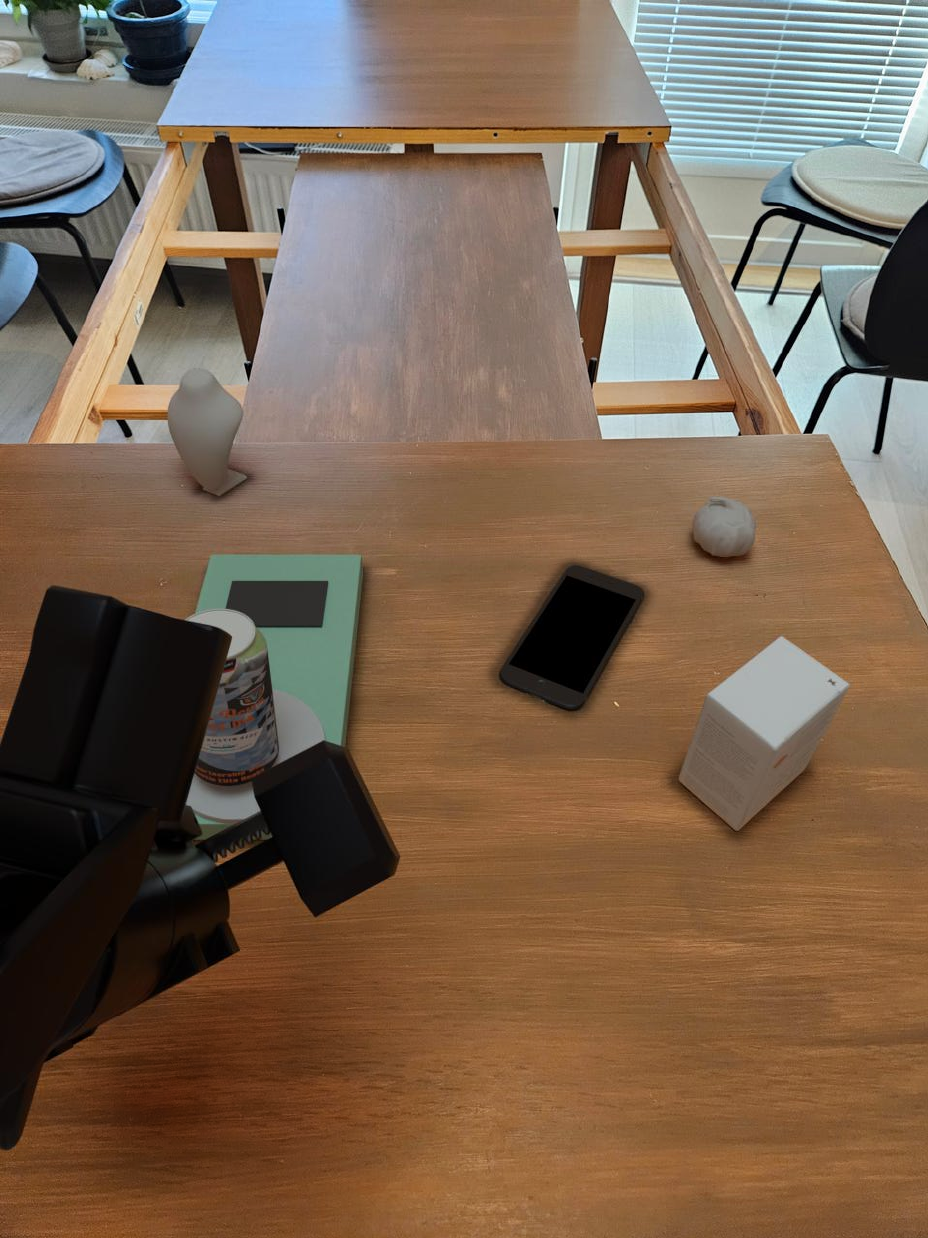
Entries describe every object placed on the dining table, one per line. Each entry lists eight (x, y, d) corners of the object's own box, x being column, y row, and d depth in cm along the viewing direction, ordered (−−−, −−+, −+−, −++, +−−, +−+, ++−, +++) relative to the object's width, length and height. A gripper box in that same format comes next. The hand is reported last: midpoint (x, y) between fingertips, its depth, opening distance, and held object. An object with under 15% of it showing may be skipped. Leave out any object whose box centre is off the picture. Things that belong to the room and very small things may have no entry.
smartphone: (492, 682, 71) (493, 675, 70) (569, 566, 80) (570, 559, 79) (578, 719, 68) (579, 712, 68) (647, 595, 77) (649, 588, 77)
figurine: (172, 487, 86) (138, 379, 77) (207, 458, 89) (179, 350, 80) (233, 512, 84) (206, 404, 75) (268, 480, 87) (246, 373, 78)
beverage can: (181, 793, 60) (133, 683, 51) (213, 706, 65) (175, 592, 56) (272, 802, 60) (240, 693, 51) (298, 714, 65) (272, 600, 56)
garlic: (673, 538, 82) (683, 494, 78) (716, 517, 84) (728, 473, 80) (719, 577, 78) (733, 533, 74) (763, 554, 80) (778, 509, 76)
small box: (744, 723, 68) (782, 631, 60) (806, 772, 65) (854, 682, 57) (674, 781, 64) (704, 691, 56) (735, 835, 61) (776, 749, 54)
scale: (335, 840, 61) (331, 819, 59) (145, 840, 61) (134, 819, 59) (363, 572, 78) (360, 549, 76) (215, 572, 78) (209, 548, 76)
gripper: (245, 591, 32) (324, 667, 47) (-254, 841, 30) (-5, 835, 45) (383, 880, 29) (419, 861, 45) (-150, 1167, 28) (76, 1046, 43)
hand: (225, 894), depth 44 cm, fingers open, 9 cm apart
